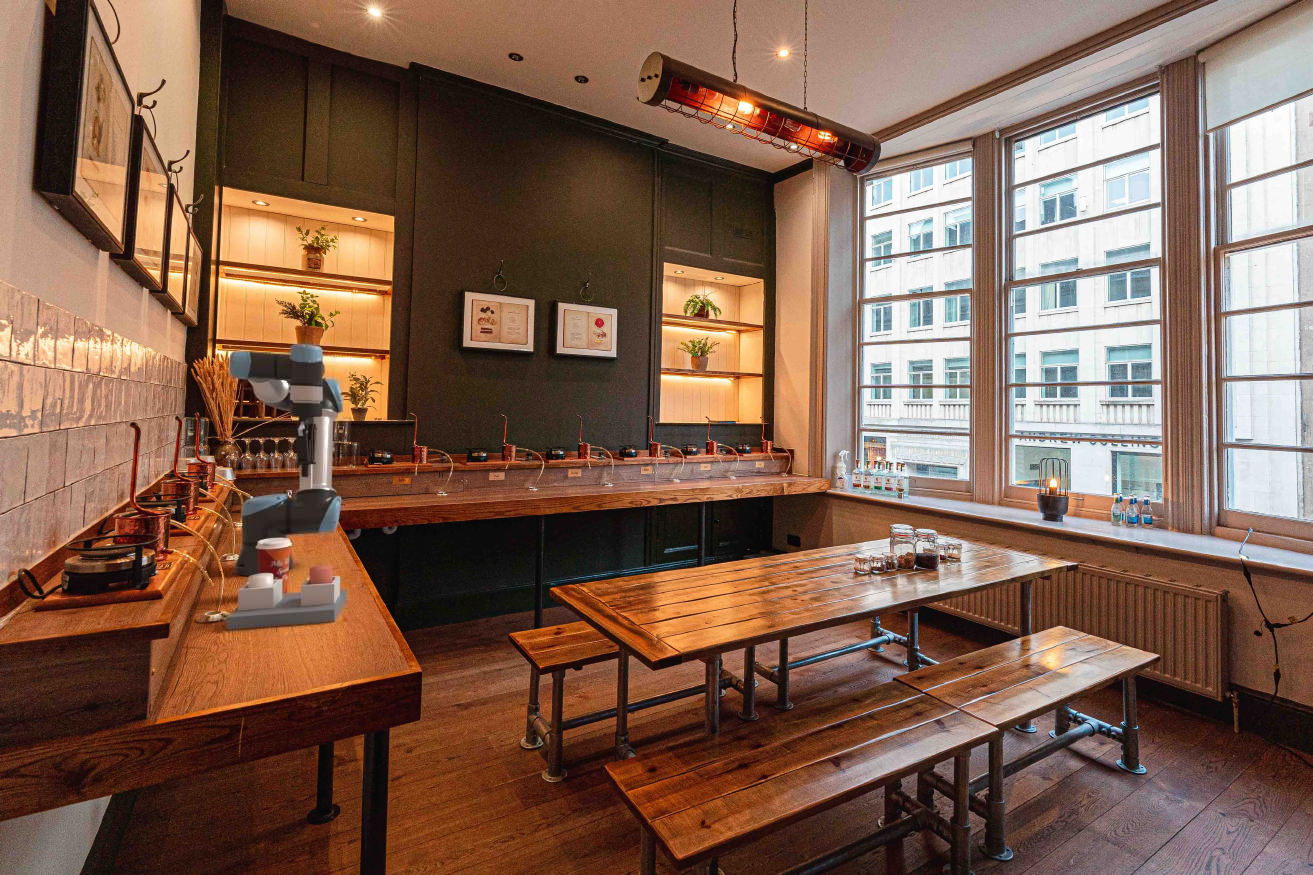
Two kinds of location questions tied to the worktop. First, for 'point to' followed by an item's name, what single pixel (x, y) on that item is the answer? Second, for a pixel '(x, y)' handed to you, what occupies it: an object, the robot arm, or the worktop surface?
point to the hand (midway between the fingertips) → (306, 488)
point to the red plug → (321, 574)
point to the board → (287, 605)
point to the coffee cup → (275, 558)
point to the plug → (260, 580)
